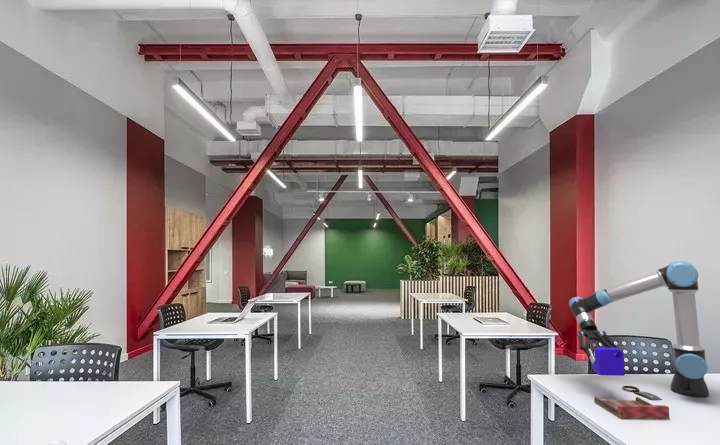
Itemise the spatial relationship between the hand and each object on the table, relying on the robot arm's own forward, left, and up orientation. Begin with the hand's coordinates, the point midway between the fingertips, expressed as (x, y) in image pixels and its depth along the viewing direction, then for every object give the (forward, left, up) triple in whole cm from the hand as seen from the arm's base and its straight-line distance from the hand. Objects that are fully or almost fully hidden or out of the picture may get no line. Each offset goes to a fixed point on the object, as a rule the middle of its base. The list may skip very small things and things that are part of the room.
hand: (605, 362), depth 205 cm
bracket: (0, -3, -5) cm, 6 cm away
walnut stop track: (0, +18, -16) cm, 24 cm away
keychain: (-19, -5, -17) cm, 26 cm away
